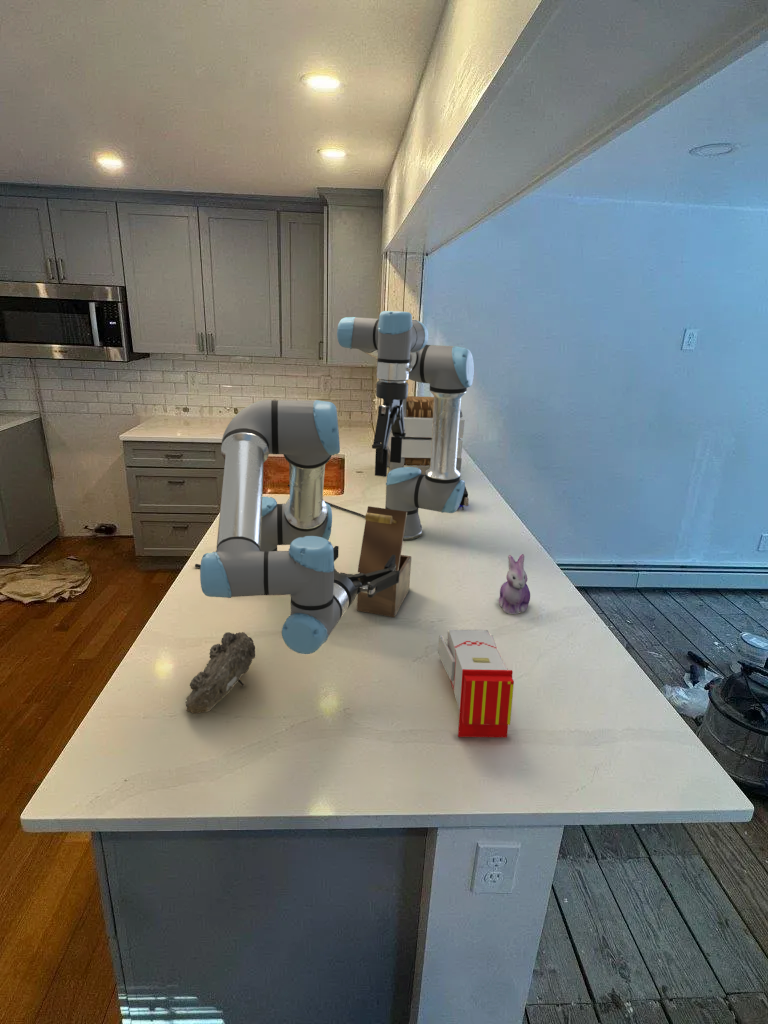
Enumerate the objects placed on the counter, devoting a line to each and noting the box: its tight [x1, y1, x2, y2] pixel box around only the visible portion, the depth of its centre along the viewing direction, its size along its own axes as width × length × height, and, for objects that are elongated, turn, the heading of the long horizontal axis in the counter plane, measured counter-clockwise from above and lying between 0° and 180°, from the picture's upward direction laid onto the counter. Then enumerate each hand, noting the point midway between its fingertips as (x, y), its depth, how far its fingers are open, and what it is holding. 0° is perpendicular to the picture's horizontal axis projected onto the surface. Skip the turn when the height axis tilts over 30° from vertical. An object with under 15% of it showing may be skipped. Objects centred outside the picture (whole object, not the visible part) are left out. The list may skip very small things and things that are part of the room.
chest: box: [356, 554, 412, 618], centre depth 153 cm, size 16×10×10 cm, turn 164°
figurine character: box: [458, 486, 470, 511], centre depth 230 cm, size 7×8×15 cm
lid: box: [357, 505, 407, 574], centre depth 140 cm, size 17×10×9 cm
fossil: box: [185, 631, 256, 715], centre depth 116 cm, size 22×10×15 cm
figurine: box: [498, 553, 531, 615], centre depth 151 cm, size 9×10×15 cm
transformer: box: [386, 395, 465, 475], centre depth 268 cm, size 34×33×41 cm
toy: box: [437, 628, 515, 738], centre depth 117 cm, size 12×13×30 cm
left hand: (365, 555), depth 129 cm, fingers open, 13 cm apart
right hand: (388, 468), depth 140 cm, fingers open, 13 cm apart
